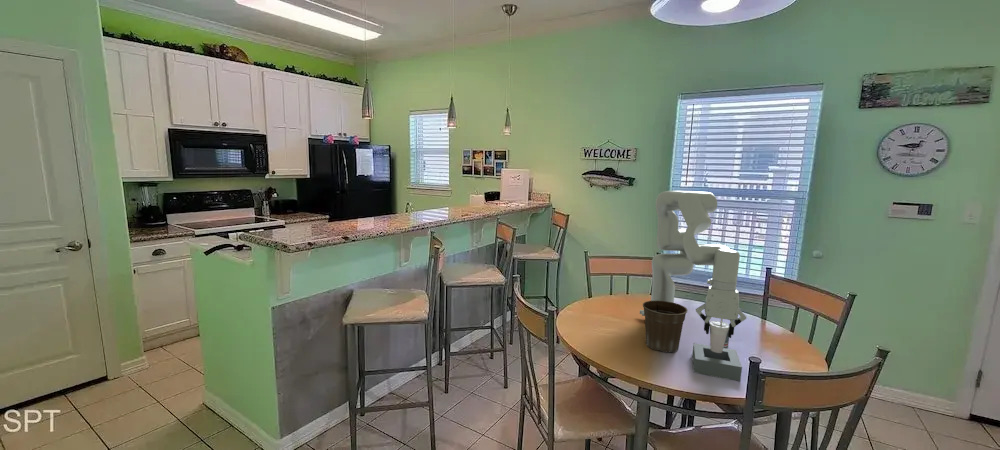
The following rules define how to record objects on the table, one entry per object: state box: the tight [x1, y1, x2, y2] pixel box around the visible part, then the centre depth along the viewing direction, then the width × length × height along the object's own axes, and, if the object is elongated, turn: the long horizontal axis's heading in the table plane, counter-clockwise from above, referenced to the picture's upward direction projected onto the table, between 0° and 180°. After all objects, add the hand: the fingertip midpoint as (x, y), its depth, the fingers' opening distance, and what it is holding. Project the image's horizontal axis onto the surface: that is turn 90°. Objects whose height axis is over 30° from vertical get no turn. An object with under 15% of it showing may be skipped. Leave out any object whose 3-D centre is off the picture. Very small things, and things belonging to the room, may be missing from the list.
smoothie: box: [709, 319, 729, 353], centre depth 146 cm, size 6×6×14 cm
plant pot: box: [642, 300, 688, 353], centre depth 163 cm, size 16×16×16 cm
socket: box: [691, 342, 743, 382], centre depth 147 cm, size 14×14×5 cm
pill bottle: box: [722, 321, 730, 348], centre depth 166 cm, size 5×5×9 cm
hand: (718, 334), depth 146 cm, fingers closed on smoothie, 6 cm apart
